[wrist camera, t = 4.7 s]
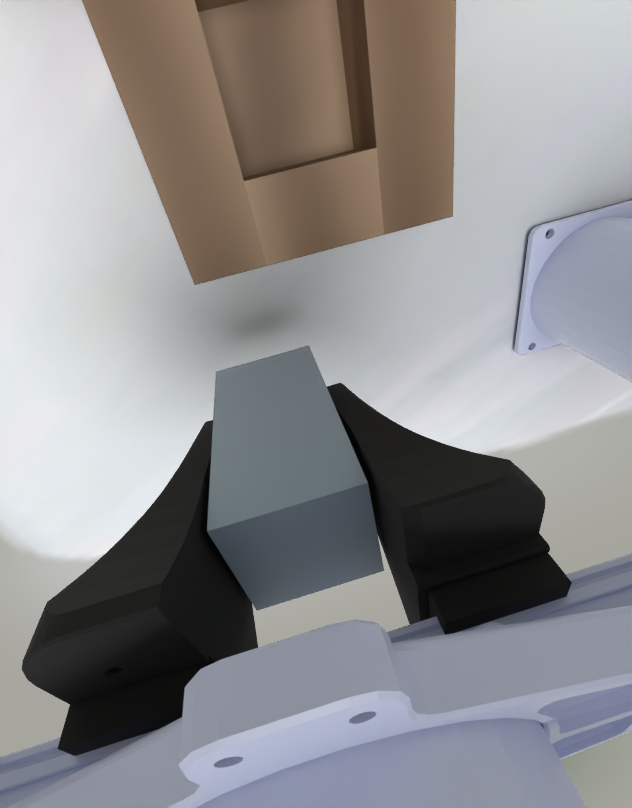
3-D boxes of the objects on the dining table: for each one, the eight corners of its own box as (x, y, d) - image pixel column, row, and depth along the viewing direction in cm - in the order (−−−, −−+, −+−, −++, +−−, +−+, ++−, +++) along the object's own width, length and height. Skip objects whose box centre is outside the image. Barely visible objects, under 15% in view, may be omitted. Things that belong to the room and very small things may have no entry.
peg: (308, 345, 13) (367, 482, 8) (326, 418, 15) (383, 570, 10) (216, 372, 13) (206, 531, 8) (246, 442, 15) (256, 610, 10)
